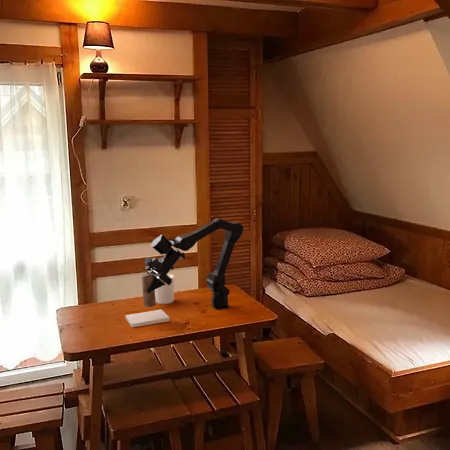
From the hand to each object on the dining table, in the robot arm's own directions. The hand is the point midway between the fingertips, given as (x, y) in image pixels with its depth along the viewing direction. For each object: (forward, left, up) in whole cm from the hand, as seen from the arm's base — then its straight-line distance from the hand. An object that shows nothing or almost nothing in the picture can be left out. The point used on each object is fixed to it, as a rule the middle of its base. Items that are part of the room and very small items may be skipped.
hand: (145, 290), depth 223 cm
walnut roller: (-1, 0, -7) cm, 7 cm away
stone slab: (0, -1, -13) cm, 13 cm away
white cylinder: (-14, -22, -13) cm, 30 cm away
